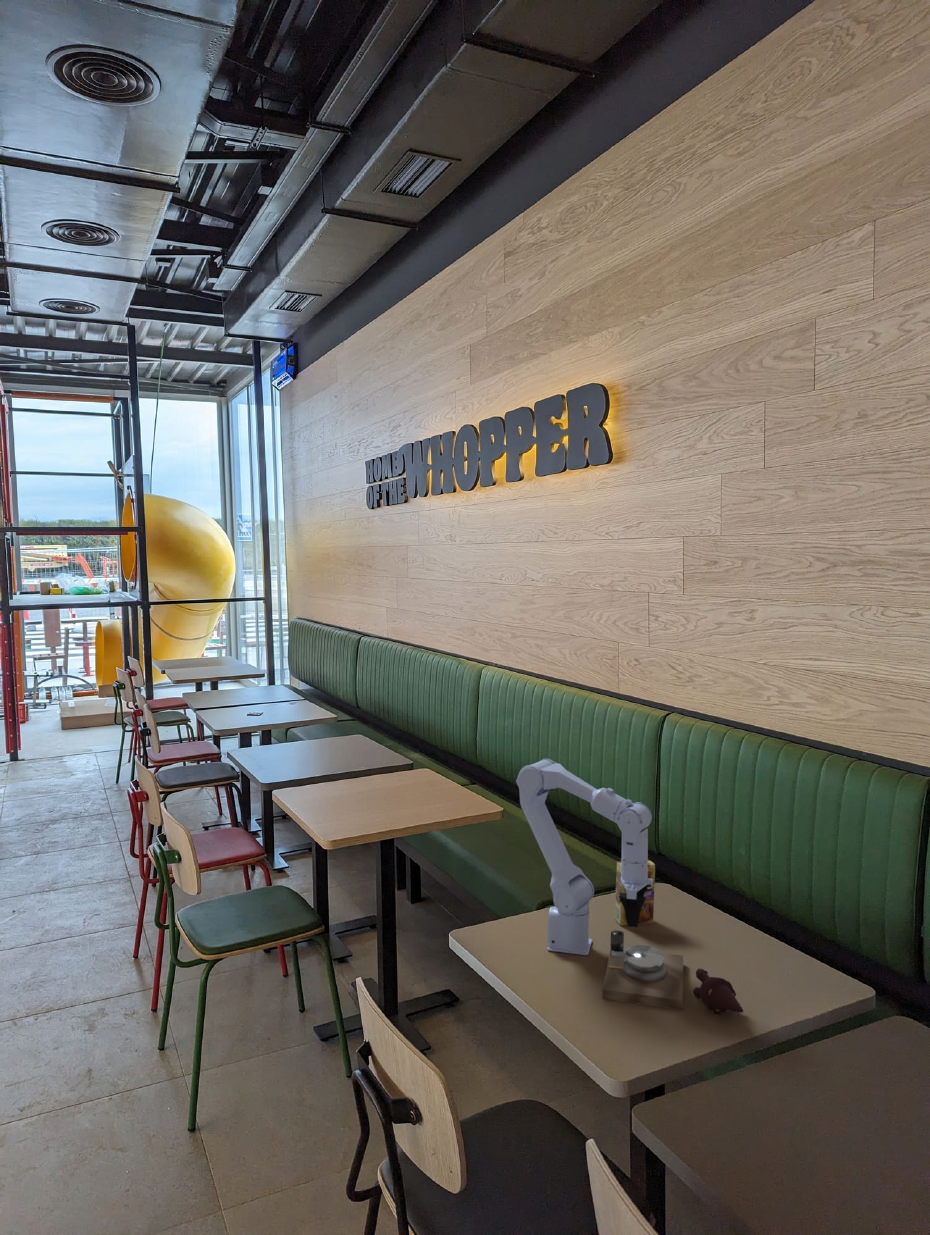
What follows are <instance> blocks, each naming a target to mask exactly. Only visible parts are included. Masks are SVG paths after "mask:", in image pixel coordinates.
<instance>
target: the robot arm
mask: <svg viewBox="0 0 930 1235" xmlns="http://www.w3.org/2000/svg"><path fill="white" fill-rule="evenodd" d="M515 782H516V784H517V787H518V789H519V790H518V791H519V804H520V807H521V810H522V811H523V814H524V816H525V818H526V820H527V822H528V825H529V827H530V829H531V831H532V834H533V835H534V838H535V840H536V841H537V842H536V843H537V845H538V846H539V848H540V851H541V852H542V854H543V857H544V860H545V862H546V864H547V866H548V868H549V870H550V872H551V879H550V883H549V887H550V889H551V892H552V900H553V904H554V906H550V908H549V911H548V920H547V951H550V952H555V953H556V952H557V953H567V954H571V955H573V954H574V955H582V956H589V954H590V949H591V947H592V942H593V939H592V938H589V936H590V934H589V931H590V925H589V924H590V901H591V900H593V897H594V894H595V888H594V885H593V883H592V882H591V880H590V879H589V878H588V877H587V876H586V875H585V874H584V872H583V870H582V869H581V868H580V867H578V866H577V865H575V864H574V863H573V861H572V858H571V857H570V855H569V852H568V850H567V848H566V846H565V844H564V842H563V839H562V837H561V835H560V833H559V831H558V829H557V827H556V824H555V823H554V820H553V818H552V816H551V814H550V811H549V810H548V807H547V805H546V800H547V797H548V794H549V791H550V790H553V789H562V790H564V791H566V792H567V793H570V794H572V795H573V796H576V797H578V798H580V799H581V800H582V799H583V800H584V801H586V802H588V803H590V806H591V809H592V811H594V812H596V813H597V814H599V815H601V816H602V817H604V818H606V819H608V820H610V821H611V822H613V823H615V824H617V826H618V828H619V830H620V831H621V861H622V875H621V883H622V884H623V886H624V887H625V889H626V890H627V893H620V894H619V898H620V901H621V903H622V905H623V907H624V910H625V915H626V921H627V924H628V925H627V926H628V927H634V928H637V927H638V926H639V924H638V923H639V917H640V912H641V908H642V905H643V904H644V902H645V899H646V897H644V893H645V891H646V888H647V886H648V885H652V884H653V879H650V878H648V859H649V858H648V857H649V854H648V851H649V847H648V846H649V843H648V842H649V837H648V835H649V833H648V832H649V830H648V827H649V825H650V824H651V823H652V818H653V816H652V813H651V810H650V808H649V807H648V806H646V805H645V804H644V802H640V801H639V802H633V801H632V800H631V799H629V798H624V797H623V796H621V795H619V794H617V793H615V792H614V791H615V790H614V789H613V788H611V787H608V788H606V787H602V788H598V789H597V788H595V787H594V786H592V785H591V784H589V783H588V782H586V781H585V780H583V779H581V778H580V777H578V776H577V775H575V774H574V773H572V772H570V771H568V770H567V769H566V768H565V767H564V766H563V765H562V764H561V763H558V762H555V761H554V760H552V759H550V758H543V759H540V760H539V761H537V762H534V763H532V764H528V765H525V766H523V767H522V768H520V771H519V772H518V775H517V778H516V780H515Z"/></svg>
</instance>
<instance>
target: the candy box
mask: <svg viewBox="0 0 930 1235" xmlns="http://www.w3.org/2000/svg"><path fill="white" fill-rule="evenodd" d="M621 875H622V860H620V861H618V860H617V861H616V879H615V880H616V881H615V882H616V883H615V906H614V920H615V921H616V922H617V923H618V924H619V926H621V927H622V926H628V924H627V921H626V915H625V910H624V907H623V905H622V903H621V901H620V898H619V894H620V893H627V890H626V889H625V887H624V886H623V884H622V883H621ZM648 878H650V879H653V884H652V885H648V886H647V888H646V891H645V893H644V897H646V899H645V902H644V904H643V905H642V908H641V912H640V917H639V923H638V925H642V924H643V925H644V924H654V912H655V910H654V907H655V882H656V880H655V879H656V865H655V863H654V862H653V861H651V860H650V859H649V858H648Z"/></svg>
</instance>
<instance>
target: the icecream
mask: <svg viewBox="0 0 930 1235" xmlns="http://www.w3.org/2000/svg"><path fill="white" fill-rule="evenodd" d="M708 973H709V972H708V971H707V970H705V969H704V968H698V969H697V970H696V971H695V977H696V978H697V979H698V980H699V981H700V982H701V984H700V987H699V986H698V987H694V988H693V989H692V995H694V996H695V997H696V998H697V999H699V1000H700V1001H701V1003H703V1004H704V1006H705V1007H706V1009H707V1010H708V1011H709V1012H712V1013H714V1014H716V1015H718V1014H723V1013H726V1012H727V1011H728V1012H734V1013H744V1009H743V1007H742V1005H741V1004H740V1003H739V1001H738V999H737V998H736V995H737V993H736V991H735V989H734V988H733V985H732V983H731V982H730V981H728V980H726V979H724V978H722V977H717V976H716V977H715V976H709V974H708Z"/></svg>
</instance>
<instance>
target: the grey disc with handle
mask: <svg viewBox="0 0 930 1235" xmlns="http://www.w3.org/2000/svg"><path fill="white" fill-rule="evenodd" d="M624 935H625V933H624V931H621V930H617V929H616V930H612V931H610V950H612V953H611V955H612V956H617V957H623V958H626V964H627V966H628V967H630V968H631V969H633V970H636V971H639V972H645V973H653V972H658V971H660V970H662V969H663V967H664V954H663V953H664V952H663V951H662V950H660V949H659V948H656V947H654V946H650V945H642V944H641V945H638V944H636V945H632V946H629V947H628V948H625V947H624V945H625V942H624V941H625V940H624V939H625V936H624Z"/></svg>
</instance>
